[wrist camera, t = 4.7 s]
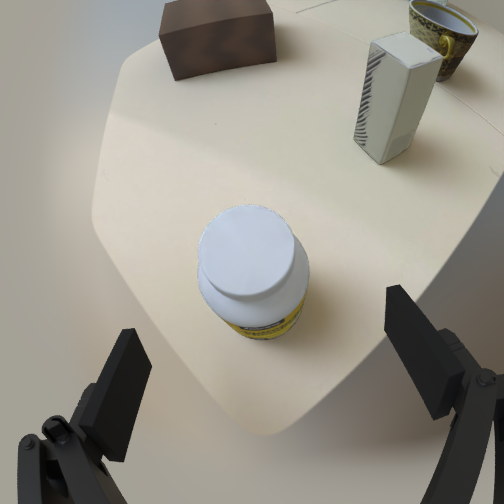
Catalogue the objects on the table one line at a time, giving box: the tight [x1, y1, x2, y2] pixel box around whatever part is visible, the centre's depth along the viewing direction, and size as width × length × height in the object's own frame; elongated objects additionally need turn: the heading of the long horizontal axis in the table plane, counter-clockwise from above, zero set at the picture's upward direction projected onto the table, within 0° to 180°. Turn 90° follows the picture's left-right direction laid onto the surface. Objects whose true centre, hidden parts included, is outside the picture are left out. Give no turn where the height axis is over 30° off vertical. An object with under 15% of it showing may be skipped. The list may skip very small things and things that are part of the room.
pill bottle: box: [198, 205, 309, 340], centre depth 20 cm, size 6×6×12 cm
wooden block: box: [159, 0, 277, 81], centre depth 36 cm, size 14×12×8 cm
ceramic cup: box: [409, 0, 478, 82], centre depth 30 cm, size 13×10×10 cm
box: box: [354, 32, 443, 164], centre depth 24 cm, size 5×4×13 cm
